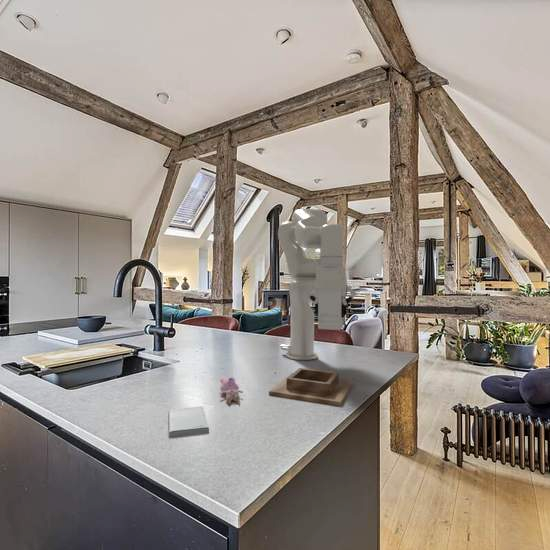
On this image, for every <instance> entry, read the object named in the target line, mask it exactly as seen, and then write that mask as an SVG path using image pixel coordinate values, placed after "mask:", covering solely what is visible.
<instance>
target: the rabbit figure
mask: <svg viewBox="0 0 550 550" xmlns="http://www.w3.org/2000/svg"><path fill="white" fill-rule="evenodd" d="M220 382H221V386H220V388H219V389H220V391H221V392H219V395H223V394H225V400H226V402H227V404H232V401H233V402H236V403H237V404H240V403H241V401H240V400H241V399H240V393H241V394H243V390H239V388H240V387H239V385H238V384H237V382H236V378H235V377H234V376H232V375H231V376H228V377H226V376H221V377H220Z"/></svg>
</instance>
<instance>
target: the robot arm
mask: <svg viewBox="0 0 550 550" xmlns="http://www.w3.org/2000/svg"><path fill="white" fill-rule="evenodd" d="M344 233H345V231H344V226H343V225H341V224H336V223H332V224H331V223H329V224H328V215H327V213H326V212H325V211H324V210H322V209H315V208H313V209H312V208H300V209H296V210H295V211H294V212H293V213H292V215H291V221H284V222H282V223H281V224H280V225H279V227H278V231H277V237H278V242H279V245H280V248H281V250H282V252H283V253H284V255H285V259H286V261H285V262H286V266H287V268H288V269H287V270H288V273H289V277H290V279H291V280H292V281H291V282H290V284H289V288H288V291H289V301H290V341H289V342H290V343H289V344H288V345H287V344H281V345H280V350H282V351H287V352H286V353H285V354H286V357H287V358H288V359H291V360H298V361H311V360H315V359H317V358H318V353H316V352H315V351H314V350H315V349H314V348H315V346H314V345H315V314H316V317H318V290H339V291H341V297H342V309H341V317H342V318H343V319H344V318H345V317H346V316H347V313H348V304H350V303H351V301H352V300H353V299H354V298H355V297H356V295H358V294H357V293H358V292H357V291H356V290H354V289H353V288H351V287H350V286H349V285H348V280H347V279H348V277H347V271H346V269H347V268H346V266H344V245H345V244H344V239H345V238H344ZM303 248H304V249H315V250H316V249H318V250H319V254H320V255H319V257H318V258H307V257H306V253H305V252H306V251H305V250H304V249H303ZM348 292H349V293H350V295H349V296H348V297H347V298H346V296H347V295H348ZM309 303H314V309H313V308H312V307H311V305H310V304H309Z"/></svg>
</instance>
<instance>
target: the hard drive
mask: <svg viewBox="0 0 550 550" xmlns="http://www.w3.org/2000/svg"><path fill="white" fill-rule="evenodd" d="M203 433H210V427H209V423H208V419H207V415H206V411H205V408H204V406H201V405H200V406H191V407H180V408H172V409H169V410H168V436H169V437H175V436H177V437H178V436H183V435H185V436H187V435H195V434H203Z"/></svg>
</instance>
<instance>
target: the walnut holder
mask: <svg viewBox="0 0 550 550" xmlns="http://www.w3.org/2000/svg"><path fill="white" fill-rule="evenodd" d="M339 376H340V374H339V372H336V371H327V370H318V369H311V368H305V367H304V368H303V367H299V368H298V369H297V370H295V371H294V372H291V373H290V374H288V376H286V377H284V379H282V380H281V381H280V382H279V383H277V384H276V385H275V386H273V387H272V388H271V389H270V390H269V391H268V395H269V396H274V397H280V398H287V399H295V400H300V401H305V402H306V401H307V402H313V403H319V404H325V403H326V404H325V405H331V404H332V406H337V405H338V406H339V407H341V406H342V404H343V403H342V402H344V401H345V399H346V397H347V396H348V393H349V392H350V391H351V389H350V388H352V386H353V385H354V380H350V379H343V378H340V377H339ZM346 395H347V396H346Z"/></svg>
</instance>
